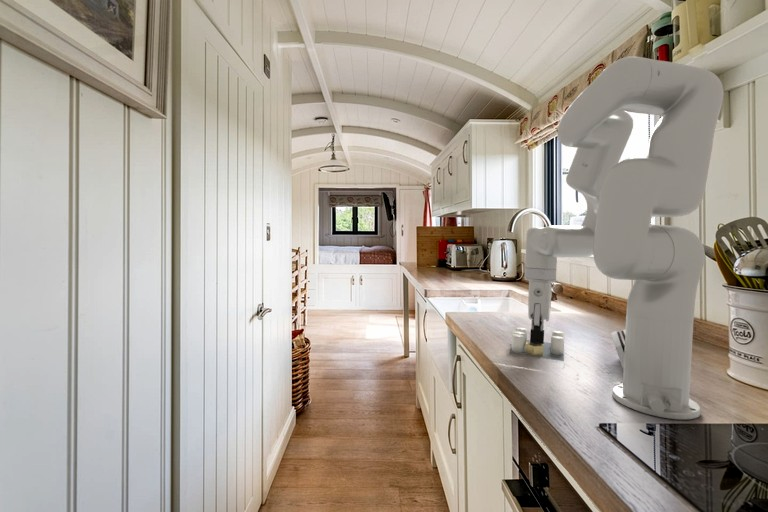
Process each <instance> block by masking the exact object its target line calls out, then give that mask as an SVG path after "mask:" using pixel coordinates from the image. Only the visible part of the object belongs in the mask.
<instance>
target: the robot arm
mask: <svg viewBox="0 0 768 512" xmlns="http://www.w3.org/2000/svg"><path fill="white" fill-rule="evenodd" d="M723 101H724V86H723V83H722V81H721V79H720V78H719V77H718V76H717V75H716V74H715V73H714V72H712V71H710V70H708V69H705V68H702V67H697V66H693V65H687V64H682V63H677V62H673V61H665V60H659V59H652V58H648V57H647V58H646V57H644V56H643V57H642V56H625V57H622V58H619V59H617V60H615V61H613V62H612V63H611V64H609V65H608V66H607V67H606V68H605V69H603V71H602V72H600V73H599V74H598V76H597V77H596V78H594V80H593V81H592V82H591V83H590V84H589V85H588V86H587V87H586V88H585V89H584V90H583V91H582V92H580V94H579V95H578V96H577V97H576V98H575V99H574V101H572V102H571V104H570V105H569V106H568V107H567V109H566V110H565V112H564V114H563V115H562V117H560V118H561V119H560V121H559V124H558V126H557V127H558V128H557V139H558V141H559V143H560V144H561V145H563V146H565V147H569V148H576V151H575V154H574V157H573V158H572V159H573V160H572V162H571V165H570V167H569V170H568V173H567V174H566V176H565V182H566V184H567V185H568V186H569V187H570V188H571V189H572V190H574V191H577V192H578V193H580V194H581V195H582V196H583V198H584V199H585V201H586V205H587V206H586V213H585V217H584V219H583V221H582V224H581V226H577V225H549V226H545V227H543V226H542V227H540V226H539V227H538V226H537V227H530V228H528V229H527V231H526V238H525V239H526V241H525V259H524V260H525V261H524V279H523V280H524V281H528V297H527V298H528V301H527V303H528V305H527V307H528V310H527V311H528V315H527V316H528V319H529V320H531V328H530V334H529V335H530V336H529V337H530V338H529V340H530V342H538V343H542V344H544V342H545V330H544V327H545V326H544V323H545V321H546V322H549V321H550V319H551V310H552V309H551V305H552V283H556V282H557V268H558V267H557V265H558V264H557V263H558V258H578V259H579V258H580V259H581V258H589V257H591V256H593V260H594V263H595V266H596V267H597V269H598V271H599V272H601V274H602V275H604V276H606V277H608V278H610V279H614V280H622V281H625V280H626V281H634V283H633V284H632V287H631V289H630V292H629V294H628V298H627V302H626V313H625V314H626V316H625V330H626V331H625V341H624V344H625V351H624V370H623V375H622V384H617V385H615V386H614V387H612V391H611V393H612V394H611V395H612V396H613V399H614V400H616V402H618V403H620V404H621V405H623V406H625V407H626V408H627V407H628V408H629V409H632V410H634V411H637V412H640V413H643V414H646V415H651V416H655V417H658V418H664V419H665V418H666V419H671V420H684V421H685V420H686V421H687V420H693V419H697V418H699V417H700V416H701V405H699V404H698V403H697V402H696V401H694V400H693V399H691V398H690V388H691V370H692V369H691V368H692V353H693V335H694V321H695V309H696V308H695V306H696V297H697V290H698V286H699V282H700V278H701V275H702V272H703V268H704V265H705V261H706V260H705V259H706V252H705V247H704V244H703V242H702V240H701V239H700V238H699V236H697V234H695V233H694V232H693V231H690V230H689V229H687V228H684V227H681V226H676V225H671V224H669V225H668V224H667V225H666V224H653V223H652V224H651V221H652V217H653V218H654V217H655V218H657V217H658V218H677V217H683V216H687V215H690V214H691V213H693V212H695V211H696V210H697V209H698V208H699V207H700V205H701V204H702V202H703V199H704V196H705V193H706V187H707V180H708V175H709V169H710V163H711V158H712V150H713V144H714V143H713V142H714V136H715V132H716V127H717V124H718V123H717V122H718V121H719V116H720V113H721V110H722V106H723ZM630 113H636V114H644V115H651V116H654V115H655V116H659V117H660V116H662V117H661V118H660V119H659V121H657V123H656V125H655V126H654V128H653V130H652V132H651V135H650V137H649V142H648V151H647V155H646V157H645V156H635V157H628V158H626V159H623V160H621V157H622V155H623V153H624V150H625V148H626V146H627V143H628V141H629V139H630V136H631V135H632V131H633V129H634V119H633V117H632V116H631V114H630ZM620 160H621V161H620Z"/></svg>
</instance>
